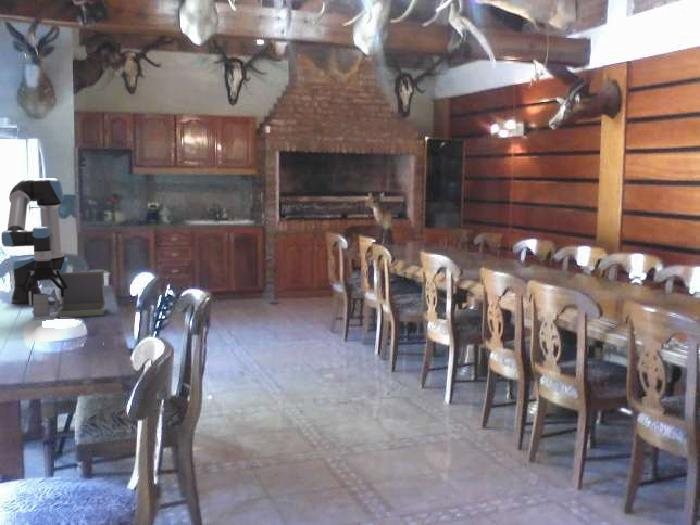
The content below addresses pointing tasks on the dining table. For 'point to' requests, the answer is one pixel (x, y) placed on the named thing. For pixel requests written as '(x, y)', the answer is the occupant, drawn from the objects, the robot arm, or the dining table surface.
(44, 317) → the trivet
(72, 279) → the case
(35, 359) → the dining table surface
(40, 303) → the mug
